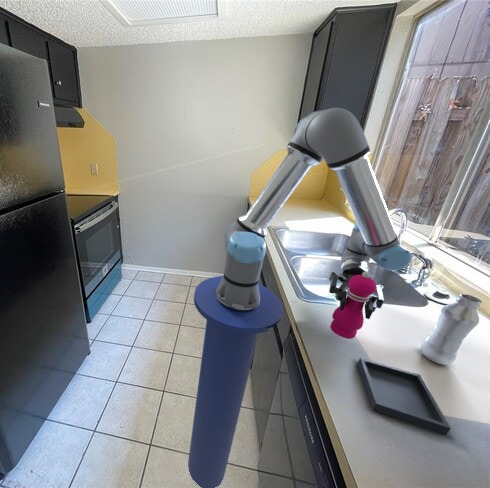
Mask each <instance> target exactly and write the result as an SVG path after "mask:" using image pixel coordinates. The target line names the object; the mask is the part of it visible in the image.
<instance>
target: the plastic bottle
mask: <svg viewBox="0 0 490 488" xmlns="http://www.w3.org/2000/svg"><path fill="white" fill-rule="evenodd" d="M455 301H456V302H452V303H448V304H446V305H444V306H443V307H442V308H441V310H440V313H439V317H438V319H437V322H436V323H435V326H434V328H433V330H432V331H431V332H430V334H429V335H428V336H427V337H426V338H425V339H424V340H423V341H422V342H421V345H420V351H421V353H422V354H423V356H424V357H426V358H427V359H428V360H430V361H432V362H434V363H436V364H439V365H445V366H446V365H450V364H453V362H454V361H456V359H457V355H458V351H459V349H460V347H461V345H462V342H463V341H464V340H465V339H466V337H467V336H468V335H469V334H470V332H472V331H473V330H474V329H475V328H476V327H477V326H478V325H479V323H480V317H479V313H478V311H477V310H479V309H480V307H481V305H482V304H483V301H482V300H481V299H480V298H479V297H476V296H474V295H471V294H468V293H460V294H459V296H458V297H457V298H456V299H455Z"/></svg>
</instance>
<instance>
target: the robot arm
mask: <svg viewBox="0 0 490 488" xmlns="http://www.w3.org/2000/svg"><path fill="white" fill-rule="evenodd" d="M370 153H371V149H370V145H369V143H368V140H367V138H366V136H365V133H364V130H363V127H362V126H361V123H360V122H359V119H357V117H356V116H355V115H354V114H353V113H352V112H351V111H349V110H347V109H345V108H342V107H331V108H328V109H320V110H316V111H313V112H310V113H309V114H307V115H306V116H303V118H301V119H300V120H299V122H298V123H297V125H296V126H295V128H294V131H293V135H292V136H291V139H290V140H289V142H288V144H287V145H286V155H285V156H284V157H283V160H281V162H280V164H279V165H278V167H277V168H276V170H275V171H274V173H272V175H271V176H270V178H269V180H268V181H267V182H266V184H265V186H264V187H263V188H262V190H261V191H260V193H259V194H258V196H257V197H256V199H255V200H254V202H253V203H252V204H251V206H250V207H249V209H248V211H247V212H246V213H245V214H244V215H240V216H239V217H238V218H237V219H236V221H234V223H232V224H231V225H229V226H228V228H227V230H226V232H225V235H224V244H225V263H224V269H223V275H222V276H223V278H222V280H221V282H220V283H219V285H218V287H217V289H216V294H215V297H216V299H217V301H218V302H219V303H220V304H221V305H222V306H224V307H225V308H228V309H230V310H233V311H237V312H250V311H253V310H255V309H257V308H258V307H259V304H260V293H259V287H258V284H259V280H260V277H261V273H262V268H263V264H264V259H265V256H266V248H267V244H266V241H265V239H264V238H265V237H266V236H267V234H268V232H267V228H268V226H269V225H270V224H271V222H272V221H273V219H274V218H275V217H276V216H277V214H278V213H279V211H280V210H281V209H282V208H283V206H284V204H286V202H287V200H288V199H289V198H290V196H291V195H292V194H293V192H295V189H297V187H298V186H299V184H300V183H301V182H302V180H303V179H304V178H305V176H306V175H307V173H308V172H309V171H310V169H311V168H312V167H314V166H318V165H320V164H321V163H322V162H323V161H324V162H325V164H326V166H327V168H328V169H329V170H333V171H334V174H335V176H336V178H337V180H338V182H339V183H338V184H339V185H340V187H341V190H342V191H343V195H344V197H345V199H346V201H347V204H348V206H349V208H350V210H351V213H352V215H353V218H354V221H355V223H354V226H353V228H352V230H351V233H350V236H349V240H348V243H347V246H346V247H345V250H344V251H343V253H342V255H341V258H340V262H341V263H340V264H341V267H340V274H337V273H336V272H334V271H331V272H330V275H329V278H328V280H329V289H328V293H330V294H335V297H334V298H335V299H336V301H339V306H340V310H342V311H343V309H344V307H345V304H346V298H347V294H346V292H347V290H348V289H349V286H348V281H349V279H350V278H351V277H353V276H355V275H362V273H363V272H365V271H367V272H369V273H370V269H369V262H370V260H373V262H375V264H376V265H377V266H380V267H381V268H383V269H384V270H387V271H391V272H395V271H399V270H403V269H405V268H406V267H408V266H409V264H410V263H411V261H412V254H411V251H410V250H409V249H408V248H407V247H406V246H404V245H402V244H401V241H400V239H399V236H398V234H397V232H396V230H395V229H396V228H395V227H394V224H393V221H392V218H391V216H390V213H389V211H388V208H387V205H386V202H385V200H384V198H383V195H382V192H381V189H380V187H379V184H378V181H377V179H376V176H375V173H374V171H373V169H372V165H371V163H370V160H369V157H368V155H369V154H370ZM338 281H339V282H341V284H340V286H338V285H337V284H338ZM337 286H338V287H337ZM383 289H384V285H381V284H378V285H376V290H375V292H374V293H373V294H371V295H369V296H370V298H369V300H368V301H367V302H365V303H364V306H363V307H364V315H365V319H366V320H370V319H371V316H372V314H373V313H374V312H375V311H376V309H381V308H382V307H383V305H384V303H385V296H384V294H383Z"/></svg>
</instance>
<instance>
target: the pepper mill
mask: <svg viewBox="0 0 490 488" xmlns="http://www.w3.org/2000/svg"><path fill="white" fill-rule="evenodd" d="M348 286H349V288H348V290H346V291H347V292H346V294H347V295H346V304H345V307H344V309H343V311H342V310H340V305H339V306H338V307H336V308H335V310H334V311H333V312H332V315H331V316H332V321H331V323H330V325H329V328H330V330H331V331H332V332H333V334H335V335H337V336H338V337H340V338H343V339H346V340H353V339H354V338H355V337H356V336H357V333H358V330H361V329H362V328H363V325H364V321H365V320H364V307H365V306H364V305H365V303H366V302H367V301H368V300H369V298H370V296H369V295H371V294H374V292H375V290H376V286H377V284H376V281H375V280H374V279H373V278H371V272H370V271H369V272H367V271H365V272H363V273H362V275H355V276H353V277H351V278H350V279H349V281H348Z"/></svg>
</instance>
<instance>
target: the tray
mask: <svg viewBox="0 0 490 488" xmlns="http://www.w3.org/2000/svg"><path fill="white" fill-rule="evenodd" d="M356 363H357V367H358V370H359V373H360V376H361V379H362V382H363V385H364V388H365V390H366V393H367V397H368V399H369V403H370V406H371V408H372V411H375V412H378V413H381V414H384V415H386V416H390V417H393V418H396V419H398V420H401V421H403V422H404V421H405V422H407V423H409V424H410V423H411V424H413V425H416V426H420V427H423V428H425V429H427V430H431V431H434V432H437V433H440V434H442V435H447V434H448V433H449V432H450V431H451V429H452V428H451V426H450V424H449V422H448V421H447V419H446V417H445V415H444V414H443V412H442V411H441V409H440V407H439V405H438V403H437V401H436V400H435V398H434V397H433V394H432V392H431V391H430V389H429V388H428V386H427V384H426V383H425V380H424V379H423V377H422V375H421V374H418V373H415V372H411V371H408V370H404V369H402V368H398V367H394V366H391V365H387V364H384V363H380V362H377V361H372V360H370V359H366V358H363V357H359V359H358V361H357V362H356Z"/></svg>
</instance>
